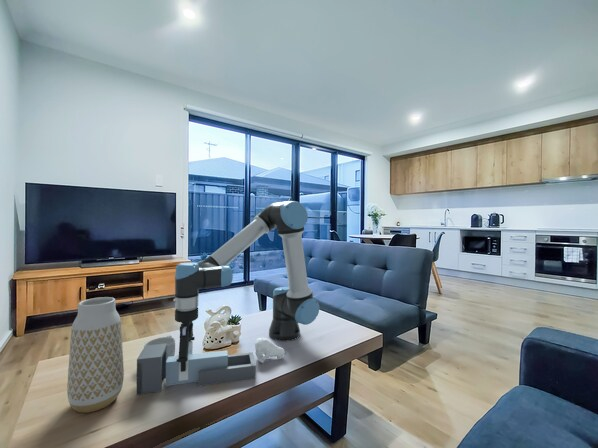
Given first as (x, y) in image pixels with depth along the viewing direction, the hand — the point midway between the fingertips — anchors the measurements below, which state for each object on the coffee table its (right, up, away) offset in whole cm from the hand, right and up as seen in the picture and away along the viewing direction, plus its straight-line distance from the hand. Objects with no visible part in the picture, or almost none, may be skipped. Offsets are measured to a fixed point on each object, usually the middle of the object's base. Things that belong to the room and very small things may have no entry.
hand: (186, 368), depth 96 cm
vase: (-22, -4, -12) cm, 26 cm away
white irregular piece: (+27, -4, +15) cm, 32 cm away
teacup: (-14, -4, +13) cm, 20 cm away
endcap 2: (+14, -4, +4) cm, 15 cm away
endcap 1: (-10, -4, -3) cm, 11 cm away
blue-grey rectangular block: (+4, -4, +1) cm, 6 cm away
